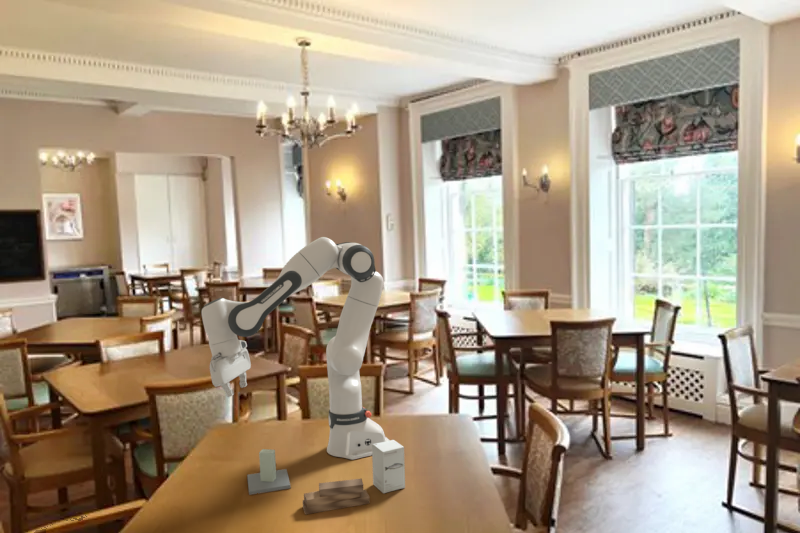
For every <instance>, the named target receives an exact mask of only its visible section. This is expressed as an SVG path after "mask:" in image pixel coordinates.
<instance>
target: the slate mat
mask: <svg viewBox="0 0 800 533" xmlns="http://www.w3.org/2000/svg"><path fill="white" fill-rule="evenodd" d="M246 476H247V485H248V495H249V496H250V495H256V494H257V493H258V494H264V493H270V492H275V491H282V490H288V489H291V482H290V478H289V474H288V470H287V468H285V469H284V468H283V469H276V479H275V480H274V481H273V482H267V481H261V478H260V472H258V473H250V474H247V475H246Z"/></svg>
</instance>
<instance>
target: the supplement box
mask: <svg viewBox="0 0 800 533" xmlns="http://www.w3.org/2000/svg"><path fill="white" fill-rule="evenodd" d="M389 440H390V439H389ZM371 456H372V458H371V459H372V484H373V485H374V487H375V488H377V490H379V491H380V492H381V493H382V494H386V493H391V492H393V491H398V490H400V489H405V488H406V474H405V473H406V472H405V471H406V469H405V468H406V467H405V447H404V446H403V445H402V444H401V443H399V442H398V441H396V440H395V439H391V440H390V441H385V442H381V443H376V444H372V455H371Z"/></svg>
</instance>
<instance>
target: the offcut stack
mask: <svg viewBox="0 0 800 533" xmlns="http://www.w3.org/2000/svg"><path fill="white" fill-rule="evenodd" d="M370 503H371V502H370V495H369V493H368V492H367V490H366V489H364V482H363V479H362V478H355V479H354V478H353V479H345V480H338V481H337V480H336V481H327V482H319V483H318V490H315V491H309V492H306V493H303V499H302V508H303V512H304V515H310V514H311V515H312V514H317V513H320V512H321V513H322V512H327V511H331V510H339V509H346V508H350V507H356V506H363V505H368V504H370Z"/></svg>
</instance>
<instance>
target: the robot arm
mask: <svg viewBox="0 0 800 533" xmlns="http://www.w3.org/2000/svg"><path fill="white" fill-rule="evenodd" d="M332 269H335V270H338V271H339V272H340V273H341V272H342V273H343V274H344V275H347V276H350V280H351V282H350V284H351V285H350V288H349V290H348V294H347V296H346V298H345V301H344V304H343V306H342V307H343V308H342V310H341V313H340V316H339V322H338V326H337V329H336V334H335V336H333V337H332V338H330V339H329V341H328V342H327V345H326V350H325V352H326V353H325V354H326V357H325V358H326V369H327V381H328V392H329V394H328V395H329V409H328V426H329V438H328V444H327V447H326V452H327V453H328V455H331V456H333V457H338V458H345V459H347V460H356V459H357V460H358V459H360V458H361V459H362V458H365V457H369V456H370V457H371V456H372V444H376V443H381V442H385V441H390V439H389V438H388V437H387V436H386V435H385V432H384V429H383V427H382V426H381V425H380V424H378V423H377V422H376V421H374V420H373V419H371V418H372V416H373V414H372V412H371V411H370V410H368V409H367V408H366V407H364V406H363V400H362V399H363V397H362V383H361V376H360V374H361V373H360V369H361V368H362V365H363V361H364V357H365V353H366V348H367V346H368V341H369V335H370V332H371V331H370V330H371V328H372V324H373V321H374V319H375V317H376V312H377V310H378V307H379V304H380V302H381V297H382V294H383V287H384V277H383V276H382V274H381V273H380V272H378V271H377V270H376V264H375V256H374V254H373V252H372V250H370V249H369V248H368V247H367V246H365V245H363V244H361V243H358V242H349V241H346V242H341V243H336V242H334V240H332V239H331V238H328V237H326V236H321V237H318V238H317V239H315V240H313V241H311V242H310V243H308V244H307V245H305V246H303V248H301V249H300V250H299V251H298V252H296V253H295V254H294V255H293V256H291V258H289V260H288V261H287V262H286V263H285V265H284V266H283V267H282V269H281V272H280V273H279V275H278V276H277V278H276V279H275V280H274V281H273V283H272V284H270V285H269V286H268V287H267V288H266V289H264V290H263V291H262V292H261V293H260V294H258V295H257V297H255V298H253V299H252V300H250V301H237V300H236V301H235V300H229V299H226V298H224V297H218V298H216V299H214V300H212V301H210V302H208V303H206V304H205V305H204V306H203V307H202V308H201V318H202V320H201V321H202V324H203V328H204V332H205V333H206V335H207V336H208V346H209V349H210V352H211V357H210V358H211V359H210V362H209V373H210V379H211V383H212V385H213V386H214V387H221V388H222V390H223V391H224V392H225V394H226V397H227V398H230V397H232V396H234V394H235V392H234V389H233V388H231V383H230V382H231V381H233V380H234V379H236V378H237V377H238V378H239V387H240V388H241V389H242V388H245V387H247V386H248V383H247V372H248V370H250V369H251V367H252V366H251V365H252V363H251V358H250V354H249V351H248V349H247V347H248V344H247V341H245V340H240V339H239V338H238V337H243V338H248V337H251V336H253V335H255V334H257V333H258V332H259V331H260V329H261V327H262V325H263V324H264V322H265V320H266V318H267V316H269V314H270V313H272V312H273V311H274V310H275V309H277V307H278V306H280V305H281V304H282V303H283V302H284V301H285V300H287V298H289V297H291V296H292V295H294V294H297V293H298V292H300V291H302V290H304V289H305V288H307V287H309V286H310V285H313V284H314V283H316V282H317V280H319V279H320V278H321V277H322V276H324V274H326V273H327V272H328V271H330V270H332Z"/></svg>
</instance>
